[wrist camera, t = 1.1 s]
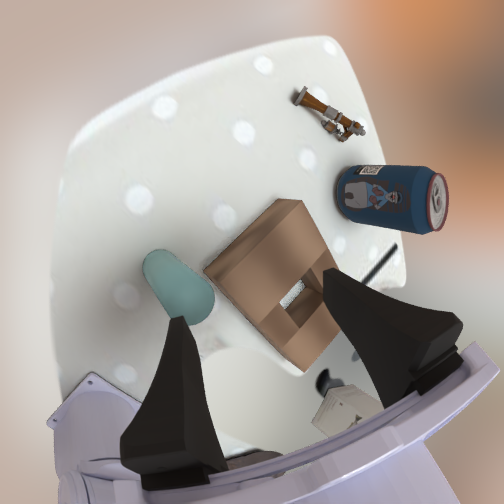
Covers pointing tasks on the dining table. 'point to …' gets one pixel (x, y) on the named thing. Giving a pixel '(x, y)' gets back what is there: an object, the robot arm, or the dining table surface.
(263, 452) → the perforated stone tool
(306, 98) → the brown long banded part
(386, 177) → the soda can
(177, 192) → the dining table surface
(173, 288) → the peg
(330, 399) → the supplement box
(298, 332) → the hole block
